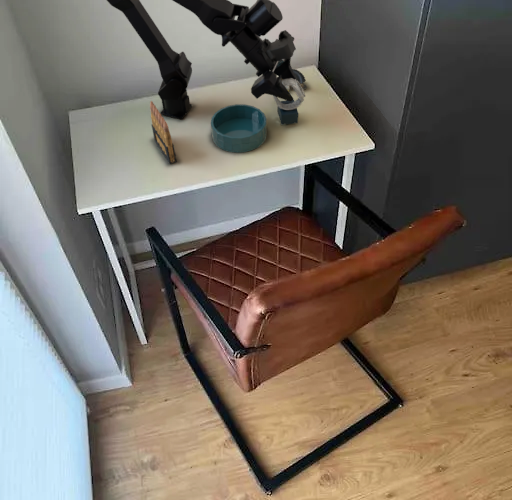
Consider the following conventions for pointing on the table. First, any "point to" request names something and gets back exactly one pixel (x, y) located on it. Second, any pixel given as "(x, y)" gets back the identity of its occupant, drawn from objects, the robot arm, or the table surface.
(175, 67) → the robot arm
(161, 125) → the ammunition clip
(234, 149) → the bowl
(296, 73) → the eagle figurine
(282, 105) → the watch
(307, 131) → the table surface
